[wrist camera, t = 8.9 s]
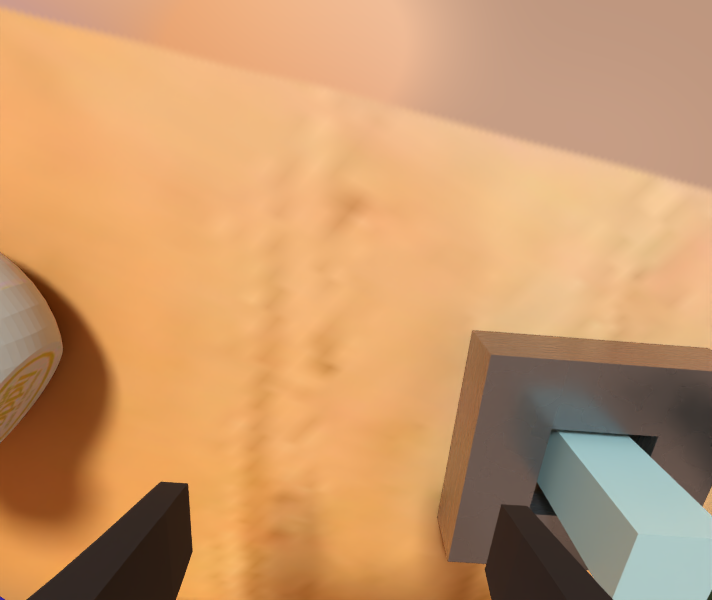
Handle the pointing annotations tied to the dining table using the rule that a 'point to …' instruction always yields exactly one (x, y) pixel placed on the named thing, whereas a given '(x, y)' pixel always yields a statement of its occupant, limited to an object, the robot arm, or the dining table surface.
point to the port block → (566, 423)
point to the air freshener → (23, 345)
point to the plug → (627, 517)
